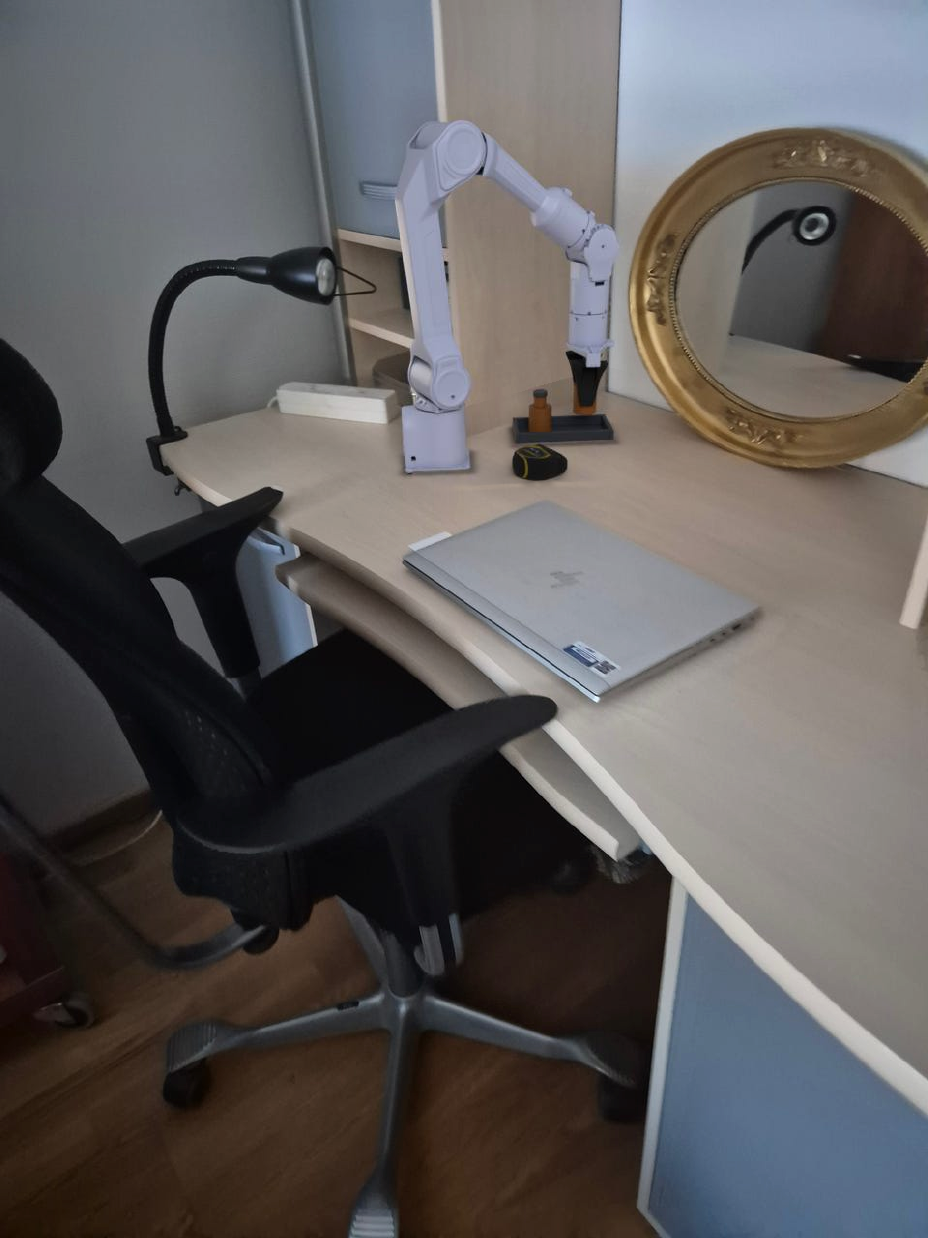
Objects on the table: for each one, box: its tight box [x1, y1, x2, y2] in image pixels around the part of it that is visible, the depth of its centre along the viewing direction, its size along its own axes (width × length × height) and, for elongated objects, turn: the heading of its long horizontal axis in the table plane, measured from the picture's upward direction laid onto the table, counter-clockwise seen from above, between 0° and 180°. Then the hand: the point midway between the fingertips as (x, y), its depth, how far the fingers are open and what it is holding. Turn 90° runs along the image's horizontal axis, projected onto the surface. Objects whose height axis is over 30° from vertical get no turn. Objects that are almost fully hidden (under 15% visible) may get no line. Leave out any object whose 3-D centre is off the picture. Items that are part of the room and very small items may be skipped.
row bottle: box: [528, 388, 552, 432], centre depth 128 cm, size 4×4×7 cm
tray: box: [512, 413, 614, 445], centre depth 130 cm, size 15×8×2 cm, turn 91°
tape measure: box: [511, 443, 569, 481], centre depth 115 cm, size 7×7×4 cm
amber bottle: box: [572, 382, 598, 415], centre depth 127 cm, size 4×4×7 cm
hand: (584, 401), depth 128 cm, fingers closed on amber bottle, 3 cm apart
